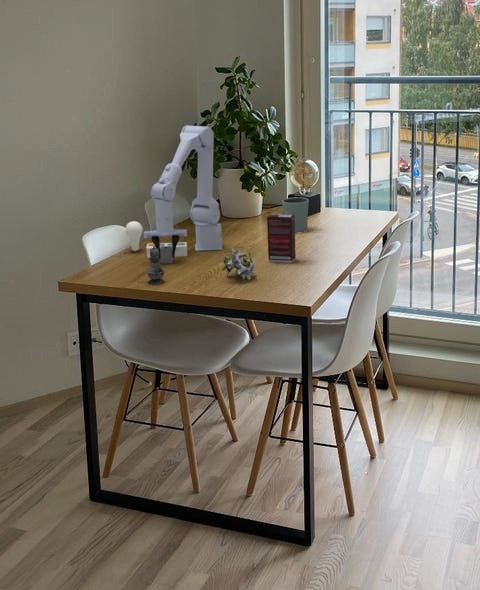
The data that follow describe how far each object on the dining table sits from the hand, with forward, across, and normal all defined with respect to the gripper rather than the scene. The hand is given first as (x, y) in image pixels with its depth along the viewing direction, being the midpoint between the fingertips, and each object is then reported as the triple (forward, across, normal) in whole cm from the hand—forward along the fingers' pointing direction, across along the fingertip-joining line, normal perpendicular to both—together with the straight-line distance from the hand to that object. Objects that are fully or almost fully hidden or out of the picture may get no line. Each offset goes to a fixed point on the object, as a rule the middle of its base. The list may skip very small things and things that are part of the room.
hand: (166, 257), depth 306 cm
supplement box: (+2, +39, -6) cm, 39 cm away
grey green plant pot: (+2, +49, +38) cm, 62 cm away
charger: (+2, 0, 0) cm, 2 cm away
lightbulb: (+2, -12, +16) cm, 20 cm away
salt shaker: (+2, -3, -24) cm, 24 cm away
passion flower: (+2, +23, -24) cm, 33 cm away
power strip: (+2, 0, +9) cm, 9 cm away
